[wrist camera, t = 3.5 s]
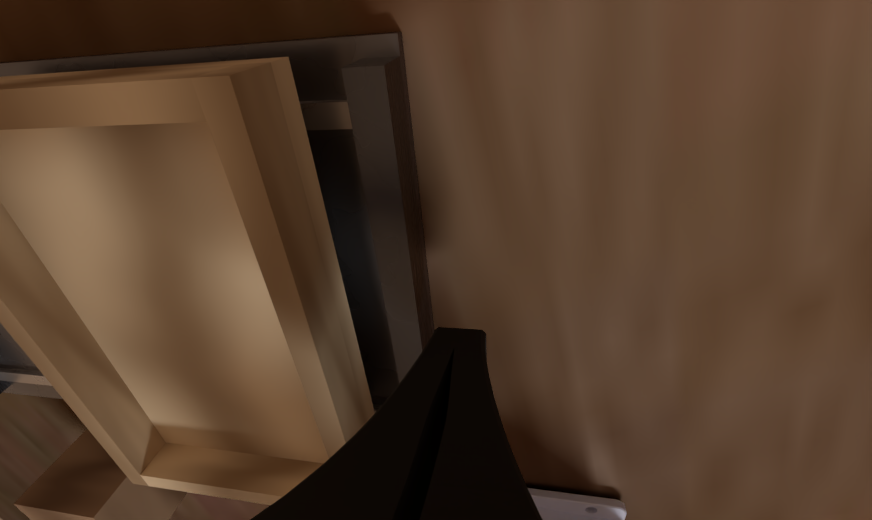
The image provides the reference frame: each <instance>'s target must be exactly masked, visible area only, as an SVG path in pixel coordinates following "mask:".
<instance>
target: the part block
mask: <svg viewBox="0 0 872 520" xmlns="http://www.w3.org/2000/svg"><path fill="white" fill-rule="evenodd" d="M186 493H187V492H183V491H177V490H170V489H164V488H158V487H151V486H145V485H138V484H133V483H132V482H131V481H130V480H129V478H128V477H127V476H126V475H125V474H124V472H123V471H122V470H121V469H120V468H119V466H118V465H117V464H116V463H115V461H114V460H113V459H112V458H111V457H110V455H109V454H108V453H107V452H106V450H105V449H104V448H103V447H102V446H101V444H100V443H99V442H98V441H97V440H96V438H95V437H94V436H93V435H92V433H91V432H90V431H89V430H88V429H87V430H86V431H85V432H84V433H83V434H82V435H81V436H80V437H79V438H78V439H77V440H76V441H75V442H74V443H73V444H72V445H71V446H70V447H69V448H68V449H67V450H66V451H65V452H64V453H63V454H62V455H61V456H60V457H59V458H58V459H57V460H56V461H55V462H54V463H53V464H52V465H51V466H50V467H49V468H48V469H47V470H46V471H45V472H44V473H43V474H42V475H41V476H40V477H39V478H38V479H37V480H36V481H35V482H34V483H33V484H32V485H31V486H30V487H29V488H28V490H27V491H26V492H25V493H24V494H23V495H22V496H21V497H20V498H19V499H18V500H17V501H16V502H15V503H14V505H15V506H16V507H17V508H18V509H19V510H21V511H22V512H23V513H24V514H25V515H26V516H27V517H29V518H30V519H31V520H169V519H170V517H171V516H172V514H173V513H174V511H175V510H176V508H177V507H178V505H179V504H180V502H181V501H182V499H183V498H184V496H185V495H186Z"/></svg>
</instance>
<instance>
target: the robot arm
mask: <svg viewBox="0 0 872 520" xmlns="http://www.w3.org/2000/svg"><path fill="white" fill-rule="evenodd" d="M625 517H626V508H625V504H624V503H623V502H621V501H619V500H616V499H610V498H602V497H595V496H587V495H579V494H572V493H564V492H556V491H549V490H541V489H533V488H527V486H526V484H525V482H524V479H523V477H522V475H521V472H520V470H519V468H518V465H517V463H516V460H515V458H514V455H513V453H512V450H511V448H510V445H509V442H508V440H507V437H506V434H505V431H504V428H503V425H502V422H501V419H500V416H499V413H498V409H497V406H496V403H495V399H494V395H493V391H492V387H491V382H490V378H489V373H488V368H487V358H486V333H485V332H484V331H483V330H475V329H459V328H443V327H438V328H437V329H436V330H435V331H434V333H433V335H432V337H431V338H430V340H429V342H428V343H427V345H426V346H425V348H424V349H423V351H422V353H421V354H420V356H419V357H418V359H417V360H416V361H415V363H414V364H413V366H412V367H411V368H410V370H409V371H408V373H407V374H406V375H405V377H404V378H403V379H402V381H401V382H400V383H399V385H398V386H397V387H396V388H395V390H394V391H393V392H392V393H391V395H390V396H389V397H388V398H387V399H386V401H385V402H384V403H383V404H382V406H381V407H380V408H379V409H378V410H377V411H376V412H375V414H374V415H373V416H372V417H371V418H370V419H369V420H368V421H367V422H366V423H365V424H364V425H363V426H362V427H361V429H360V430H359V431H358V432H357V433H356V434H355V435H354V436H353V437H352V438H351V439H350V440H349V441H347V442H346V443H345V444H344V445H343V446H342V447H341V448H340V449H339V450H338V451H337V452H336V453H335V454H334V455H333V456H331V457H330V458H329V459H328V460H327V461H326V462H325V463H324V464H322V465H321V466H320V467H319V468H318V469H316V470H315V471H314V472H313V473H312V474H310V475H309V476H308V477H307V478H305V479H304V480H303V481H302V482H300V483H299V484H298V485H297V486H296V487H294V488H293V489H292V490H291V491H289V492H288V493H287V494H285V495H284V496H283V497H281V498H280V499H279V500H277V501H276V502H275V503H273V504H272V505H270V506H269V507H267V508H266V509H265V510H263V511H262V512H260V513H259V514H258V515H256V516H255V517H253V518H252V519H250V520H625Z"/></svg>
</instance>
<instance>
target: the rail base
mask: <svg viewBox="0 0 872 520" xmlns="http://www.w3.org/2000/svg"><path fill="white" fill-rule="evenodd" d="M277 57H289V61H290V65H291V69H292V74H293V78H294V82H295V86H296V90H297V94H298V98H299V102H300V107H301V111H302V115H303V119H304V123H305V127H306V131H307V135H308V140H309V144H310V148H311V152H312V156H313V160H314V164H315V168H316V173H317V177H318V181H319V185H320V189H321V193H322V197H323V201H324V206H325V210H326V214H327V218H328V222H329V226H330V230H331V234H332V239H333V243H334V247H335V251H336V255H337V259H338V263H339V267H340V272H341V276H342V280H343V284H344V288H345V292H346V296H347V300H348V305H349V309H350V313H351V317H352V321H353V325H354V329H355V333H356V338H357V342H358V346H359V350H360V354H361V358H362V362H363V366H364V371H365V375H366V379H367V383H368V387H369V391H370V395H371V399H372V404H373V408H374V412H376V411H377V410H378V409H379V408H380V407H381V406H382V404H383V403H384V402H385V401H386V399H387V398H388V397H389V396H390V395H391V393H392V392H393V391H394V390H395V388H396V387H397V386H398V385H399V383H400V382H401V381H402V379H403V378H404V377H405V375H406V374H407V373H408V371H409V370H410V368H411V367H412V366H413V364H414V363H415V361H416V360H417V359H418V357H419V356H420V354H421V353H422V351H423V349H424V348H425V346H426V345H427V343H428V342H429V340H430V338H431V337H432V335H433V333H434V323H433V314H432V305H431V296H430V287H429V278H428V269H427V260H426V251H425V241H424V232H423V223H422V214H421V205H420V196H419V187H418V178H417V169H416V160H415V150H414V141H413V132H412V123H411V114H410V105H409V96H408V87H407V78H406V69H405V60H404V50H403V41H402V32H388V33H375V34H362V35H349V36H336V37H324V38H311V39H298V40H285V41H272V42H259V43H246V44H233V45H220V46H207V47H195V48H182V49H169V50H156V51H143V52H130V53H117V54H104V55H91V56H78V57H66V58H53V59H40V60H27V61H14V62H1V63H0V77H3V76H17V75H32V74H46V73H61V72H75V71H90V70H104V69H118V68H133V67H147V66H162V65H176V64H191V63H205V62H219V61H234V60H248V59H263V58H277ZM2 392H5V393H14V394H23V395H31V396H40V397H49V398H58V399H63V398H62V397H61V396H60V395H59V393H58V392H57V391H56V390H55V388H54V387H53V386H52V385H51V384H50V382H49V381H48V380H47V379H46V377H45V376H44V375H43V374H42V373H41V371H40V370H39V369H38V368H37V367H36V365H35V364H34V363H33V362H32V360H31V359H30V358H29V357H28V356H27V354H26V353H25V352H24V351H23V350H22V348H21V347H20V346H19V345H18V343H17V342H16V341H15V340H14V339H13V337H12V336H11V335H10V334H9V332H8V331H7V330H6V329H5V328H4V326H3V325H2V324H1V323H0V394H1V393H2Z"/></svg>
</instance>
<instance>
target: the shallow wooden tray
mask: <svg viewBox="0 0 872 520" xmlns="http://www.w3.org/2000/svg"><path fill="white" fill-rule="evenodd" d="M0 323H1V324H2V325H3V326H4V328H5V329H6V330H7V331H8V332H9V334H10V335H11V336H12V337H13V339H14V340H15V341H16V342H17V343H18V345H19V346H20V347H21V348H22V350H23V351H24V352H25V353H26V354H27V356H28V357H29V358H30V359H31V360H32V362H33V363H34V364H35V365H36V367H37V368H38V369H39V370H40V371H41V373H42V374H43V375H44V376H45V377H46V379H47V380H48V381H49V382H50V384H51V385H52V386H53V387H54V388H55V390H56V391H57V392H58V393H59V395H60V396H61V397H62V398H63V399H64V401H65V402H66V403H67V404H68V405H69V407H70V408H71V409H72V410H73V412H74V413H75V414H76V415H77V416H78V418H79V419H80V420H81V421H82V422H83V424H84V425H85V426H86V427H87V429H88V430H89V431H90V432H91V433H92V435H93V436H94V437H95V438H96V440H97V441H98V442H99V443H100V444H101V446H102V447H103V448H104V449H105V450H106V452H107V453H108V454H109V455H110V457H111V458H112V459H113V460H114V461H115V463H116V464H117V465H118V466H119V468H120V469H121V470H122V471H123V472H124V474H125V475H126V476H127V477H128V478H129V480H130V481H131V482H132V483H133V484H138V485H145V486H151V487H158V488H164V489H170V490H177V491H183V492H190V493H196V494H203V495H209V496H215V497H222V498H228V499H235V500H241V501H248V502H254V503H261V504H267V505H272V504H273V503H275V502H276V501H277V500H279V499H280V498H281V497H283V496H284V495H285V494H287V493H288V492H289V491H291V490H292V489H293V488H294V487H296V486H297V485H298V484H299V483H300V482H302V481H303V480H304V479H305V478H307V477H308V476H309V475H310V474H312V473H313V472H314V471H315V470H316V469H318V468H319V467H320V466H321V465H322V464H324V463H325V462H326V461H327V460H328V459H329V458H330V457H331V456H333V455H334V454H335V453H336V452H337V451H338V450H339V449H340V448H341V447H342V446H343V445H344V444H345V443H346V442H347V441H349V440H350V439H351V438H352V437H353V436H354V435H355V434H356V433H357V432H358V431H359V430H360V429H361V427H362V426H363V425H364V424H365V423H366V422H367V421H368V420H369V419H370V418H371V417H372V416H373V415H374V414H375V412H374V408H373V404H372V399H371V395H370V391H369V387H368V383H367V379H366V375H365V371H364V366H363V362H362V358H361V354H360V350H359V346H358V342H357V338H356V333H355V329H354V325H353V321H352V317H351V313H350V309H349V305H348V300H347V296H346V292H345V288H344V284H343V280H342V276H341V272H340V267H339V263H338V259H337V255H336V251H335V247H334V243H333V239H332V234H331V230H330V226H329V222H328V218H327V214H326V210H325V206H324V201H323V197H322V193H321V189H320V185H319V181H318V177H317V173H316V168H315V164H314V160H313V156H312V152H311V148H310V144H309V140H308V135H307V131H306V127H305V123H304V119H303V115H302V111H301V107H300V102H299V98H298V94H297V90H296V86H295V82H294V78H293V74H292V69H291V65H290V61H289V57H277V58H263V59H248V60H234V61H219V62H205V63H191V64H176V65H162V66H147V67H133V68H118V69H104V70H90V71H75V72H61V73H46V74H32V75H17V76H3V77H0Z"/></svg>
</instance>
